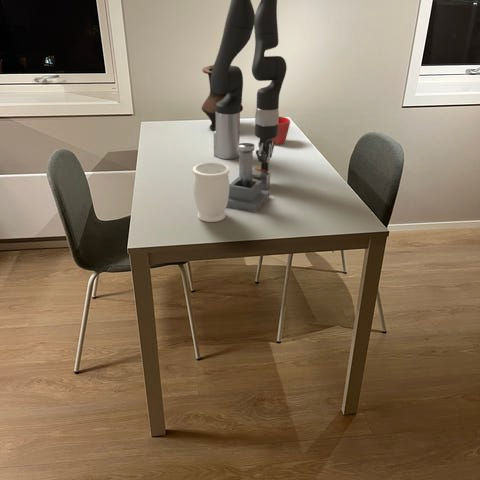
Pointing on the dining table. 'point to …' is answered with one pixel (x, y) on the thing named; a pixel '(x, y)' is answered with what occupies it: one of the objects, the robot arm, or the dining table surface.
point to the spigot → (245, 164)
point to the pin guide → (262, 178)
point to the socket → (247, 196)
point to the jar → (211, 190)
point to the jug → (212, 101)
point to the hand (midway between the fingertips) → (264, 172)
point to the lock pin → (260, 170)
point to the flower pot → (282, 130)
